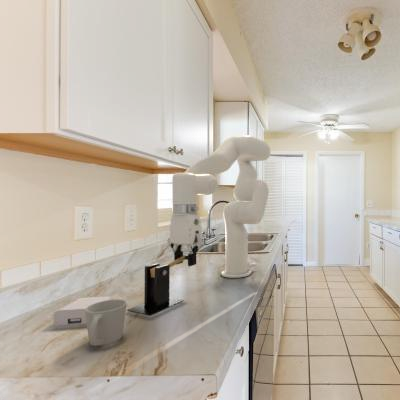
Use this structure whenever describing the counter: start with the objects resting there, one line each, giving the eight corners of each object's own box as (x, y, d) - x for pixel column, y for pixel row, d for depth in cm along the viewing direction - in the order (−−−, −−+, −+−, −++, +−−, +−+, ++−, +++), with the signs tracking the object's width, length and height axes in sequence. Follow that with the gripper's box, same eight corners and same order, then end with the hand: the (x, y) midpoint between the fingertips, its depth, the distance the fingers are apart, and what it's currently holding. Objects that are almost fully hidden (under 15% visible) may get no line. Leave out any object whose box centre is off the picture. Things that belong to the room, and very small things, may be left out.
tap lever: (181, 259, 92) (180, 252, 92) (192, 260, 90) (191, 253, 90) (147, 276, 80) (146, 269, 80) (160, 278, 78) (158, 270, 78)
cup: (131, 333, 66) (131, 298, 66) (113, 356, 56) (113, 315, 56) (95, 336, 64) (95, 300, 64) (70, 361, 54) (70, 318, 54)
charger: (122, 304, 83) (95, 327, 69) (89, 306, 82) (53, 329, 67) (123, 289, 83) (95, 308, 69) (89, 290, 82) (53, 310, 67)
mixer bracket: (162, 299, 88) (162, 260, 88) (184, 303, 84) (184, 262, 84) (127, 314, 76) (127, 268, 77) (150, 319, 73) (150, 272, 73)
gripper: (213, 210, 91) (213, 264, 91) (174, 209, 97) (174, 259, 97) (197, 211, 84) (197, 269, 84) (156, 210, 90) (156, 264, 90)
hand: (185, 263), depth 91 cm, fingers closed on tap lever, 5 cm apart
